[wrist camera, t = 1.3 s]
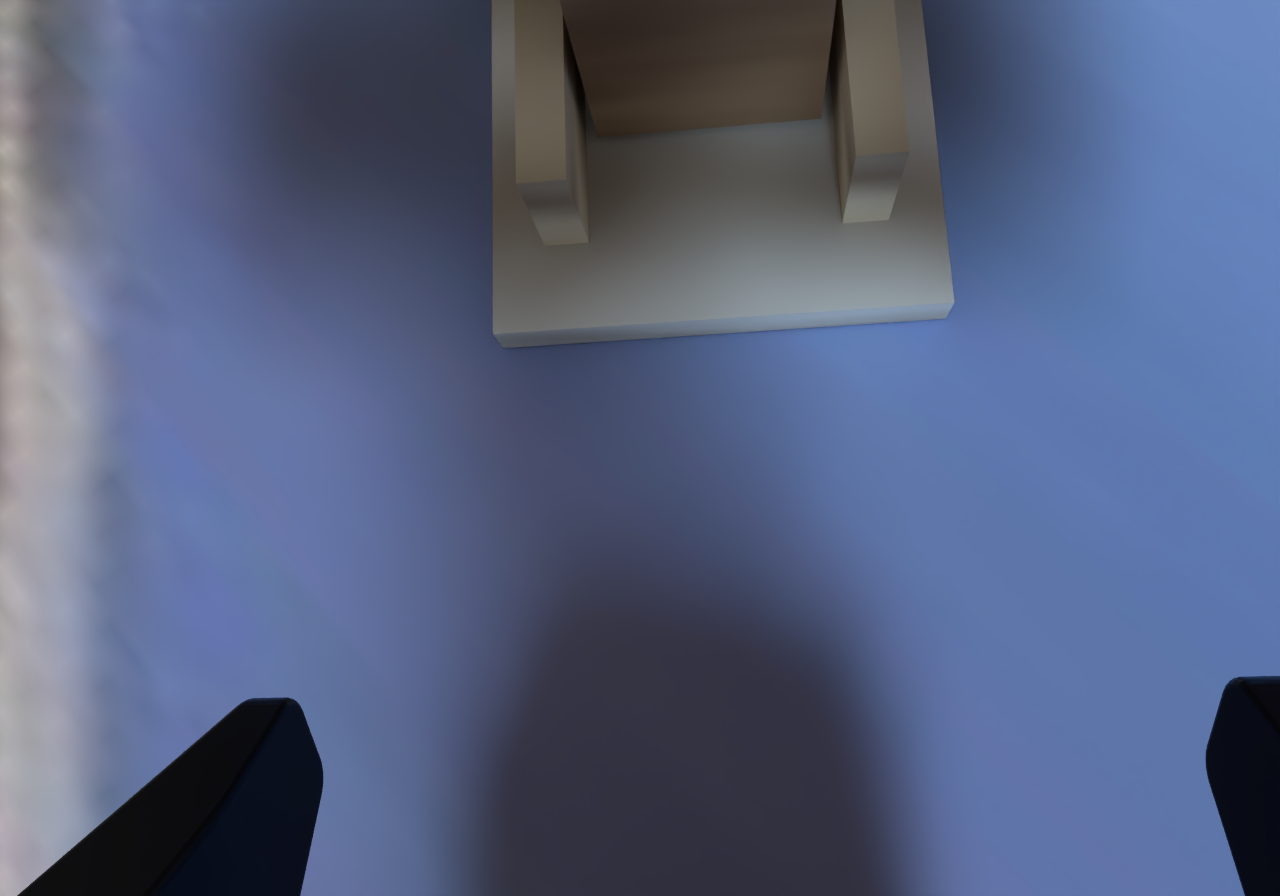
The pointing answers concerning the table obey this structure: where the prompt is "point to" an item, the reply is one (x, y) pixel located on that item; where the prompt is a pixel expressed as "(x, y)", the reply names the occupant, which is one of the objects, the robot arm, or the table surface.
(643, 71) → the block
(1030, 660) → the table surface
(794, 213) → the chute
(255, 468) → the table surface
